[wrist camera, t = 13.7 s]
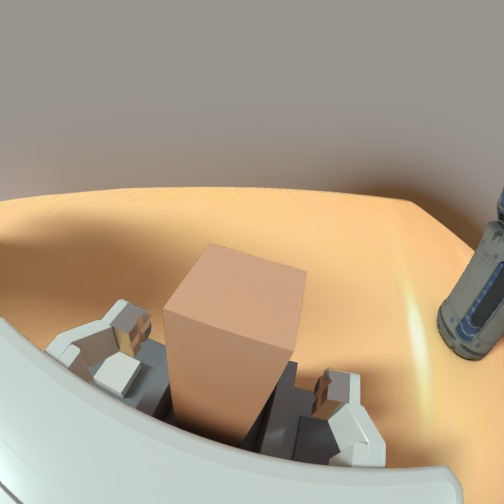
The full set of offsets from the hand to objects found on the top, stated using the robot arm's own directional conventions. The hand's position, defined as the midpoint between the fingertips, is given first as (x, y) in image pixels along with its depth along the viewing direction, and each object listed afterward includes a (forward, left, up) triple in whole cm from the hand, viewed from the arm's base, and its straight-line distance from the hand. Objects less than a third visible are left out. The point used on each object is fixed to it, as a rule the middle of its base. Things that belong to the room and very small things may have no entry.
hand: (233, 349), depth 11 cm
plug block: (0, 0, -8) cm, 8 cm away
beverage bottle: (+27, +16, -10) cm, 33 cm away
